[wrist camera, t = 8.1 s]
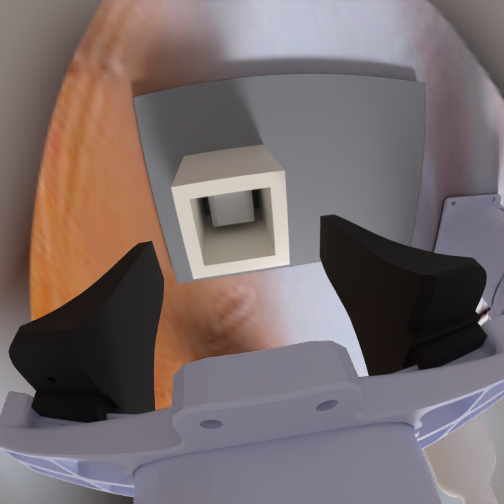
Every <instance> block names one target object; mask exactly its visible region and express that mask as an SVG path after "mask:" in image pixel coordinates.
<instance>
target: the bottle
mask: <svg viewBox="0 0 504 504" xmlns="http://www.w3.org/2000/svg"><path fill="white" fill-rule="evenodd" d="M423 450H424V452H425V455H426V457H427V459H428V462H429V464H430V467H431V469H432V472H433V474H434V477H435V480H436V482H437V485H438V486H439V487H440V488H441V490H442V491H443V492H444V493H445V494H447V495H448V496H451V497H456V498H462V499H463V502H464V504H498V503H497V500H496V497H495V495H494V492H493V489H492V487H491V484H490V482H489V481H490V479H491V477H492V474H493V472H494V469H495V467H496V452H495V447H494V445H493V443H492V441H491V439H490V437H489V435H488V433H487V431H486V429H485V427H484V425H483V423H482V421H481V419H480V417H479V415H477V416H476V417H474V418H473V419H472V420H470V421H469V422H467V423H465V424H464V425H462V426H461V427H459V428H458V429H456V430H455V431H453V432H451V433H450V434H448V435H446V436H445V437H443V438H441V439H440V440H438V441H436V442H434V443H433V444H431V445H429V446H427V447H425V448H423Z"/></svg>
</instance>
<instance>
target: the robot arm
mask: <svg viewBox="0 0 504 504" xmlns="http://www.w3.org/2000/svg"><path fill="white" fill-rule="evenodd" d="M500 201H501V196H500V195H499V194H488V195H475V196H462V197H450V198H447V199H446V200H445V202H444V208H443V213H442V218H441V223H440V228H439V233H438V237H437V241H436V246H435V250H434V252H429V251H425V250H421V249H417V248H413V247H410V246H406V245H403V244H400V243H398V242H395V241H392V240H389V239H387V238H385V237H382V236H380V235H378V234H375V233H373V232H371V231H369V230H367V229H365V228H363V227H361V226H358V225H356V224H354V223H352V222H350V221H348V220H346V219H344V218H342V217H340V216H337V215H334V214H332V215H324V216H320V259H321V262H322V264H323V267H324V270H325V272H326V275H327V276H328V278H329V280H330V282H331V284H332V286H333V287H334V289H335V291H336V293H337V295H338V296H339V298H340V300H341V302H342V304H343V306H344V307H345V309H346V311H347V313H348V315H349V317H350V320H351V322H352V325H353V328H354V330H355V333H356V336H357V339H358V341H359V344H360V347H361V350H362V353H363V357H364V360H365V364H366V367H367V371H368V374H369V376H366V377H358V375H357V373H356V370H355V368H354V366H353V363H352V361H351V359H350V356H349V354H348V352H347V349H346V348H345V347H343V346H341V345H339V344H337V343H335V342H333V341H309V342H304V343H298V344H293V345H288V346H282V347H277V348H271V349H265V350H258V351H252V352H245V353H238V354H231V355H223V356H215V357H207V358H204V359H200V360H197V361H193V362H190V363H187V364H185V365H184V366H183V367H182V368H181V369H179V370H178V371H177V372H176V373H175V374H174V378H173V395H172V407H169V408H164V409H160V410H156V411H155V397H154V350H155V341H156V335H157V329H158V324H159V319H160V313H161V308H162V303H163V294H164V278H163V274H162V271H161V268H160V265H159V262H158V259H157V256H156V253H155V249H154V246H153V243H152V241H149V242H143V243H138V244H137V245H136V246H134V247H133V248H132V249H131V250H130V251H129V252H128V253H127V254H126V255H125V256H124V257H123V258H122V259H120V260H119V261H118V262H117V263H116V264H115V265H114V266H113V267H112V268H111V269H110V270H109V271H108V272H107V273H105V274H104V275H103V276H102V277H101V278H100V279H99V280H98V281H97V282H95V283H94V284H93V285H92V286H90V287H89V288H88V289H87V290H85V291H84V292H83V293H81V294H80V295H78V296H77V297H75V298H74V299H72V300H71V301H69V302H68V303H66V304H65V305H63V306H61V307H60V308H58V309H56V310H54V311H53V312H51V313H49V314H47V315H45V316H43V317H41V318H39V319H36V320H34V321H32V322H29V323H27V324H25V325H22V326H20V328H19V330H18V332H17V334H16V336H15V337H14V339H13V341H12V343H11V345H10V348H9V356H10V359H11V361H12V363H13V365H14V366H15V368H16V369H17V370H18V371H19V373H20V374H21V375H22V376H23V377H24V378H25V379H26V380H27V381H28V383H29V384H30V385H31V386H33V388H34V389H35V390H36V393H35V397H32V396H30V395H28V394H25V393H18V392H12V391H10V392H8V395H7V398H6V401H5V403H4V406H3V409H2V413H1V415H0V449H1V450H2V451H4V452H5V453H7V454H8V455H9V456H11V457H12V458H14V459H15V460H17V461H19V462H20V463H22V464H23V465H25V466H27V467H28V468H30V469H32V470H33V471H35V472H38V473H41V474H44V475H47V476H51V477H54V478H57V479H60V480H64V481H67V482H70V483H74V484H78V485H81V486H85V487H89V488H92V489H97V490H101V491H105V492H110V493H114V494H119V495H125V496H131V497H134V504H442V503H441V500H440V497H439V495H438V492H437V489H436V487H435V484H434V481H433V479H432V476H431V473H430V471H429V468H428V466H427V463H426V461H425V458H424V456H423V453H422V451H421V450H422V449H423V448H425V447H427V446H429V445H431V444H433V443H434V442H436V441H438V440H440V439H441V438H443V437H445V436H446V435H448V434H450V433H451V432H453V431H455V430H456V429H458V428H459V427H461V426H462V425H464V424H465V423H467V422H469V421H470V420H472V419H473V418H474V417H476V416H477V415H479V414H480V413H482V412H483V411H485V410H486V409H488V408H489V407H490V406H492V405H493V404H495V403H496V402H497V401H499V400H500V399H502V398H503V397H504V207H503V206H502V205H500ZM452 202H453V203H452ZM481 297H482V298H483V299H484V301H485V302H486V303H487V304H488V305H489V306H490V308H491V310H490V312H489V313H488V315H489V317H490V318H491V319H492V320H491V321H489V322H487V323H486V324H485V325H484V326H483V327H482V328H481V327H480V325H479V324H478V323H477V322H478V321H479V319H480V316H479V315H478V314H477V313H476V311H475V310H476V308H477V306H478V304H479V302H480V299H481Z"/></svg>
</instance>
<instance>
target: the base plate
mask: <svg viewBox="0 0 504 504" xmlns="http://www.w3.org/2000/svg"><path fill="white" fill-rule="evenodd" d="M133 99H134V105H135V111H136V117H137V122H138V127H139V133H140V138H141V143H142V148H143V152H144V157H145V162H146V166H147V171H148V175H149V179H150V184H151V188H152V192H153V196H154V200H155V204H156V208H157V212H158V216H159V220H160V223H161V227H162V231H163V235H164V238H165V242H166V245H167V249H168V252H169V256H170V259H171V263H172V266H173V269H174V273H175V276H176V279H177V282H178V283H185V282H192V281H199V280H205V279H212V278H219V277H226V276H232V275H239V274H246V273H252V272H259V271H265V270H271V269H278V268H284V267H290V266H296V265H303V264H309V263H315V262H321V259H320V216H324V215H332V214H334V215H337V216H340V217H342V218H344V219H346V220H348V221H350V222H352V223H354V224H356V225H358V226H361V227H363V228H365V229H367V230H369V231H371V232H373V233H375V234H378V235H380V236H382V237H385V238H387V239H389V240H392V241H395V242H398V243H400V244H403V245H406V246H411V241H412V236H413V231H414V225H415V219H416V213H417V207H418V200H419V192H420V184H421V175H422V165H423V153H424V137H425V83H421V82H415V81H408V80H401V79H393V78H384V77H374V76H362V75H344V74H283V75H265V76H253V77H242V78H233V79H225V80H217V81H210V82H204V83H198V84H192V85H186V86H181V87H176V88H171V89H166V90H162V91H157V92H153V93H149V94H144V95H141V96H137V97H133ZM255 145H264V146H265V147H266V148H267V149H268V151H269V152H270V153H271V154H272V155H273V157H274V158H275V159H276V160H277V161H278V163H279V164H280V165H281V166H282V167H283V169H284V170H285V179H286V196H287V214H288V235H289V259H290V265H283V266H277V267H271V268H264V269H258V270H251V271H245V272H238V273H232V274H225V275H219V276H212V277H205V278H198V279H193V275H192V272H191V268H190V264H189V260H188V256H187V253H186V249H185V245H184V241H183V237H182V233H181V229H180V224H179V220H178V216H177V212H176V207H175V203H174V199H173V194H172V190H171V186H172V184H173V181H174V179H175V176H176V174H177V171H178V169H179V167H180V164H181V162H182V159H183V157H184V156H188V155H193V154H199V153H205V152H211V151H218V150H225V149H232V148H239V147H247V146H255ZM203 203H204V208H205V213H206V215H211V216H212V222H213V227H219V226H225V225H232V224H238V223H245V222H252V221H255V218H254V209H253V208H259V205H258V195H257V189H253V190H246V191H239V192H232V193H226V194H219V195H213V196H206V197H203Z"/></svg>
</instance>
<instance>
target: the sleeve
mask: <svg viewBox="0 0 504 504" xmlns="http://www.w3.org/2000/svg"><path fill="white" fill-rule="evenodd" d="M253 189H257V195H258V205H259V208H253V209H254V218H255V221H252V222H245V223H238V224H232V225H225V226H219V227H213V222H212V216H211V215H206V213H205V208H204V203H203V197H206V196H213V195H219V194H226V193H232V192H239V191H246V190H253ZM171 190H172V194H173V199H174V203H175V207H176V212H177V216H178V220H179V224H180V229H181V233H182V237H183V241H184V245H185V249H186V253H187V256H188V260H189V264H190V268H191V272H192V275H193V279H198V278H205V277H212V276H219V275H225V274H232V273H238V272H245V271H251V270H258V269H264V268H271V267H277V266H283V265H290V259H289V235H288V214H287V196H286V179H285V170H284V169H283V167H282V166H281V165H280V164H279V163H278V161H277V160H276V159H275V158H274V157H273V155H272V154H271V153H270V152H269V151H268V149H267V148H266V147H265V146H264V145H255V146H247V147H239V148H232V149H225V150H218V151H211V152H205V153H199V154H193V155H188V156H184V157H183V159H182V162H181V164H180V167H179V169H178V171H177V174H176V176H175V179H174V181H173V184H172V186H171Z"/></svg>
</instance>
